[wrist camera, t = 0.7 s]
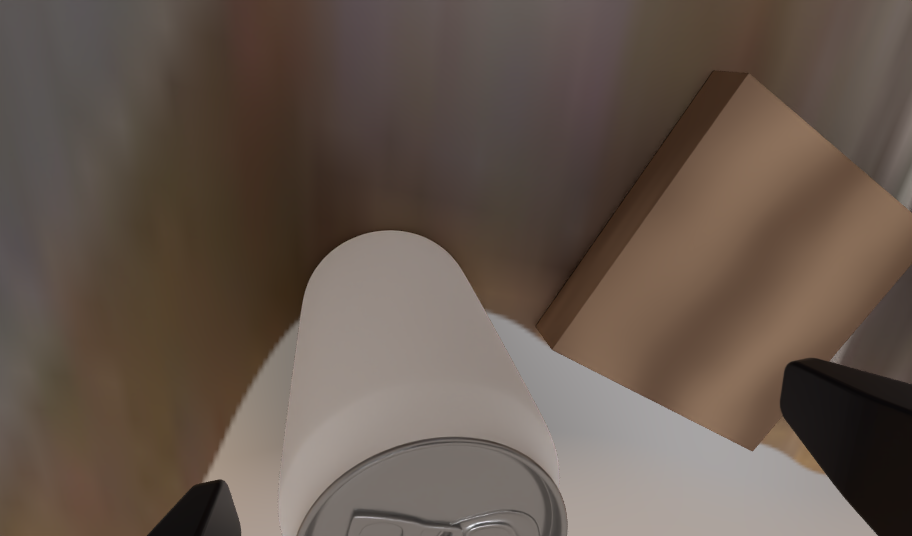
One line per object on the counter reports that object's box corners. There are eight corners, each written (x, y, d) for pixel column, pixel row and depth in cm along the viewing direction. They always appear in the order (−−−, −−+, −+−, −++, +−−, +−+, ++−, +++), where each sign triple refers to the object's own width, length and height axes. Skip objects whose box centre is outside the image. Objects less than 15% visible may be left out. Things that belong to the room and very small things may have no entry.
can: (447, 384, 24) (537, 665, 13) (290, 366, 23) (246, 672, 12) (486, 242, 22) (630, 436, 11) (317, 211, 21) (294, 404, 10)
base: (894, 220, 26) (936, 234, 24) (725, 424, 28) (752, 451, 26) (713, 70, 21) (748, 73, 20) (535, 326, 24) (551, 349, 22)
